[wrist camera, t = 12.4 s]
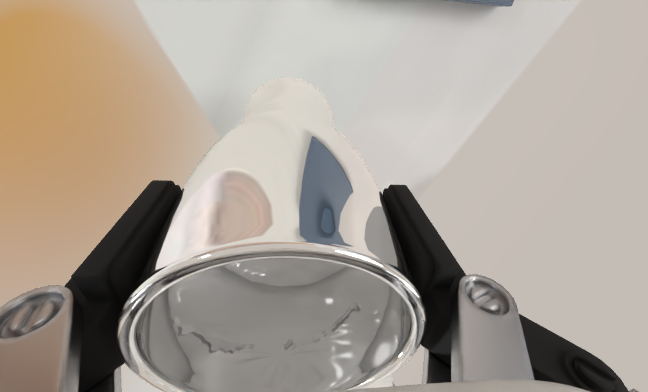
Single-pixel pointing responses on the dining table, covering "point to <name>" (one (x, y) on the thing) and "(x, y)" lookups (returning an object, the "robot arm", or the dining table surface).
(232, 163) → the beer glass
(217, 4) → the dining table surface
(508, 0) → the scale
